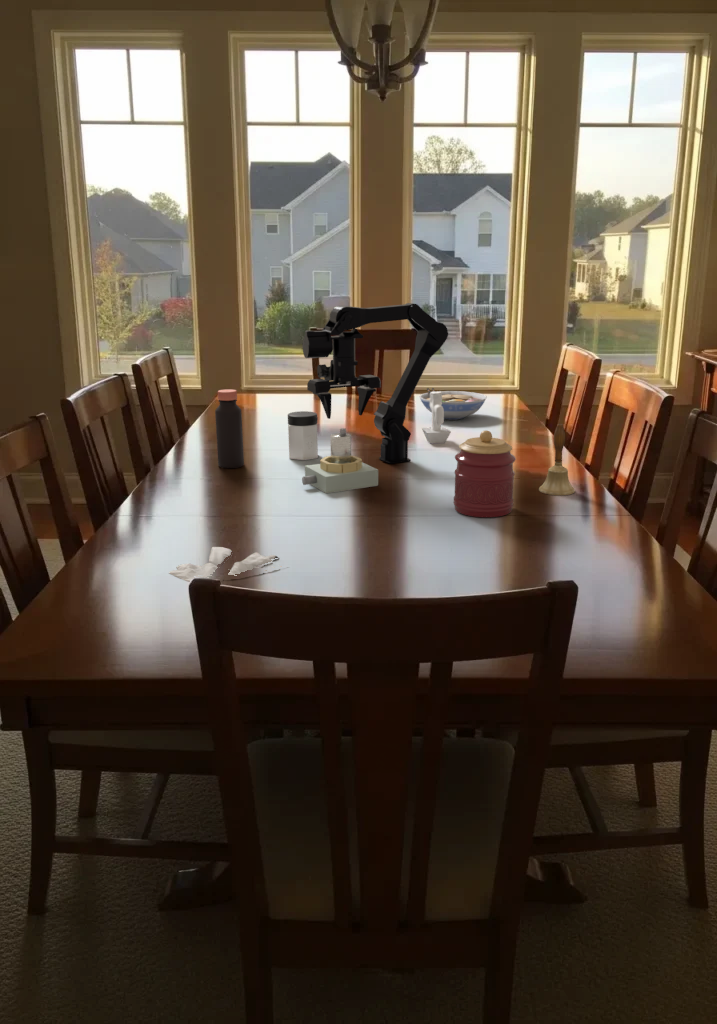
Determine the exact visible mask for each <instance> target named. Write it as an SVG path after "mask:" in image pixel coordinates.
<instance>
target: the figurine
mask: <svg viewBox="0 0 717 1024" xmlns="http://www.w3.org/2000/svg"><path fill="white" fill-rule="evenodd" d="M441 391H442V390H439V392H437V391H435V392H434V391H431V393H430V409H431V410H432V412H431V427H421V430H422V432H423V434H424V436H425V439H426V441H427V442H428V443H429V444H431V445H432V444H433V445H436V444H446V442H447V440H448V438H449V436H450V435H451V433H452V431H451V430H450V429H448V428H447V427H445V426H441V425H443V424H444V422H445V421H444V420H445V419H444V409H443V407H442V406H441V404H442V392H441Z"/></svg>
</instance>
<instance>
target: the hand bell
mask: <svg viewBox="0 0 717 1024" xmlns="http://www.w3.org/2000/svg"><path fill="white" fill-rule="evenodd" d="M565 443H566V432H565V429H564V424H563V423H557V426H556V427H555V430H554V433H553V446H554V450H555V453H554V465H553V466H551V467H549V468H548V471H547V475H546V478H545V480H544V482H543V484H541V485H540V486H539V488H538V491H539V492H540V493H541V494H542V493H543V494H544V495H548V496H558V497H559V496H561V497H562V496H571V495H572V494H574V493H576V490H575V487H573V486H572V485H571V482H570V479H569V470H568V468H567V467H565V466H563V449H564V446H565Z"/></svg>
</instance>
